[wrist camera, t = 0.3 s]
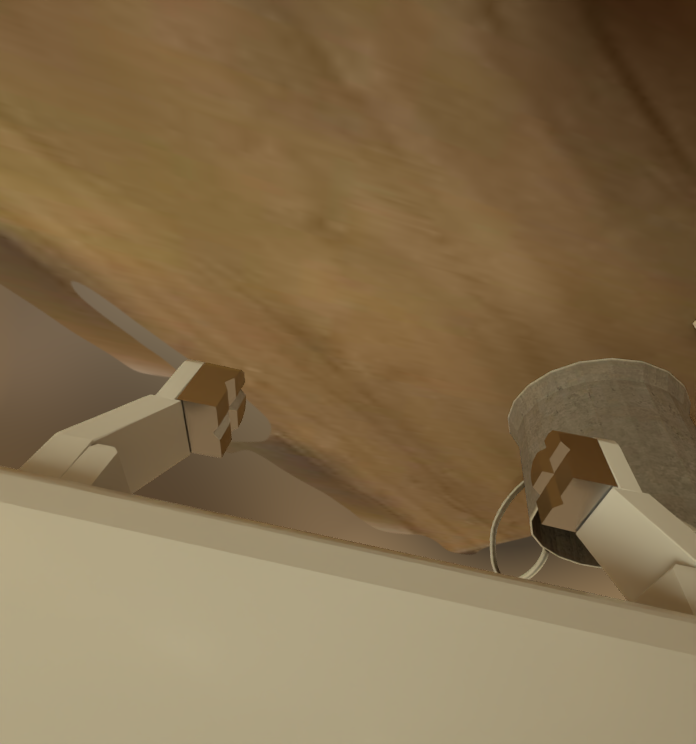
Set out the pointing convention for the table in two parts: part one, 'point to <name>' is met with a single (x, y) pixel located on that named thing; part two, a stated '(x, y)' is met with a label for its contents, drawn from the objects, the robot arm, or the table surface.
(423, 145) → the table surface
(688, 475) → the pitcher
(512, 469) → the table surface
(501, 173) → the table surface
